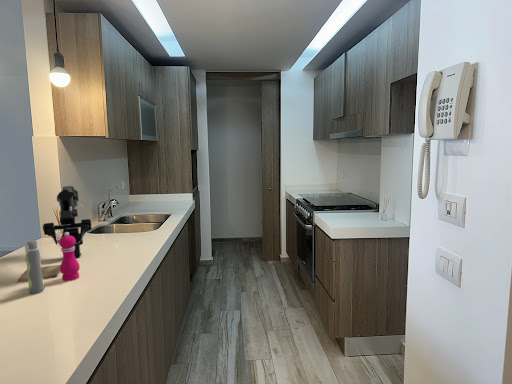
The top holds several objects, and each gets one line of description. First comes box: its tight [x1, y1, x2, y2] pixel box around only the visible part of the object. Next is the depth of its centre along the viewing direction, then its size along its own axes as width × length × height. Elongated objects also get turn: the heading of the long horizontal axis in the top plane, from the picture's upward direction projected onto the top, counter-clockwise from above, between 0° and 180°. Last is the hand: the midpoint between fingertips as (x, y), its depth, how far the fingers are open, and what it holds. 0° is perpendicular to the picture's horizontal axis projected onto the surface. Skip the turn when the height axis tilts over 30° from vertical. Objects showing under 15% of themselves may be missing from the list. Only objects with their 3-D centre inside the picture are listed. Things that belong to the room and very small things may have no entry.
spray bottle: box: [24, 239, 45, 295], centre depth 124 cm, size 5×5×20 cm
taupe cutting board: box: [17, 264, 61, 283], centre depth 143 cm, size 14×14×1 cm
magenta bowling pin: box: [58, 232, 81, 282], centre depth 136 cm, size 7×7×20 cm
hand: (68, 242), depth 143 cm, fingers open, 9 cm apart
